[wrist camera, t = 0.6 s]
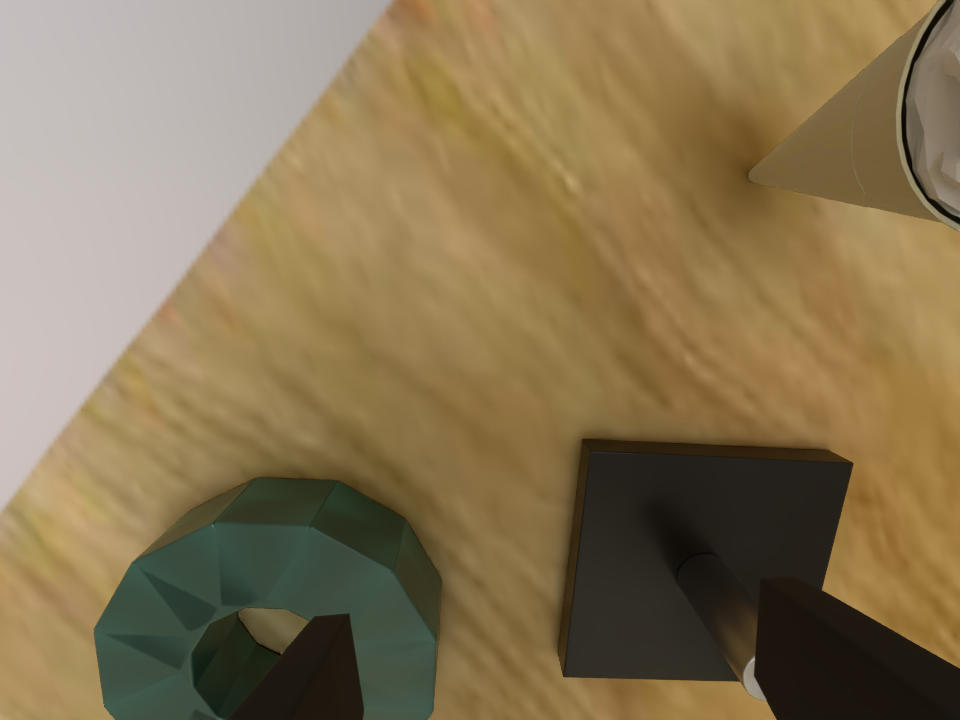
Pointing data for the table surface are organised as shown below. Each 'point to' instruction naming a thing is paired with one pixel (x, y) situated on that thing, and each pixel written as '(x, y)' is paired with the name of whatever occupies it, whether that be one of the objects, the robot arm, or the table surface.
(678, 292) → the table surface
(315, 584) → the ring
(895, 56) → the ice cream cone
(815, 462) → the peg stand
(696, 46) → the table surface
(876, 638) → the robot arm
